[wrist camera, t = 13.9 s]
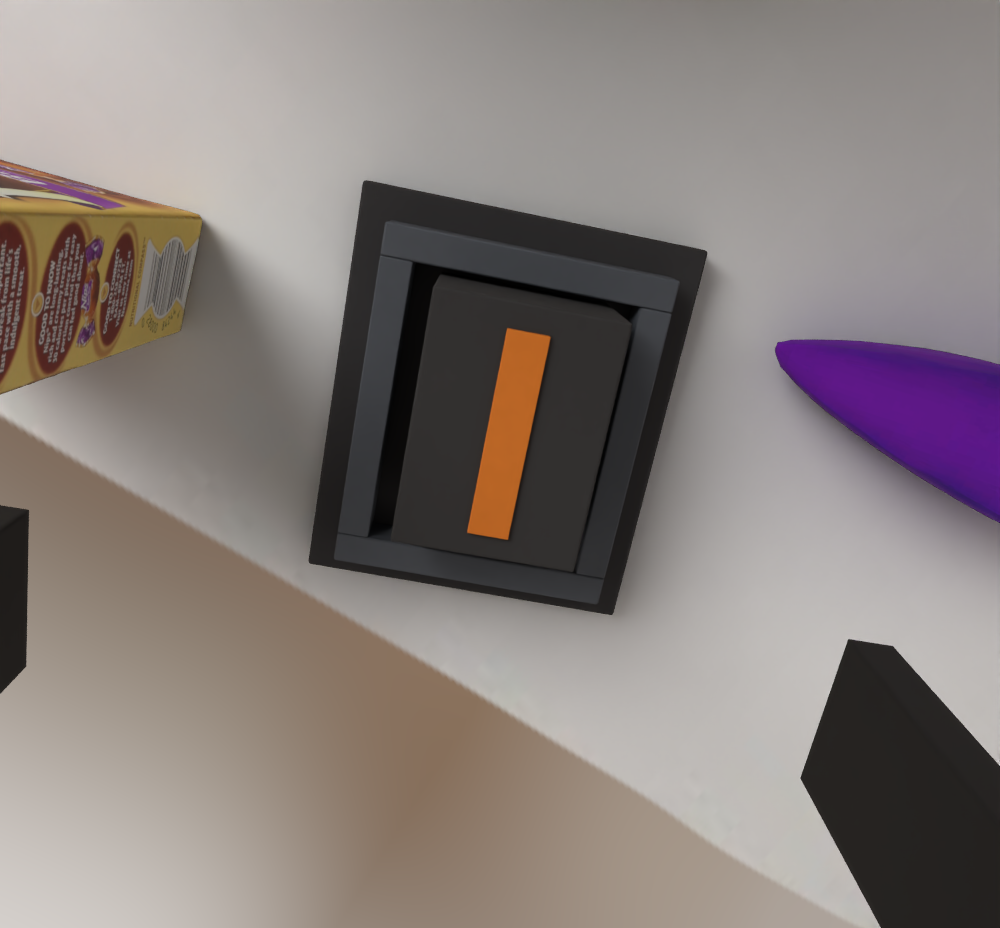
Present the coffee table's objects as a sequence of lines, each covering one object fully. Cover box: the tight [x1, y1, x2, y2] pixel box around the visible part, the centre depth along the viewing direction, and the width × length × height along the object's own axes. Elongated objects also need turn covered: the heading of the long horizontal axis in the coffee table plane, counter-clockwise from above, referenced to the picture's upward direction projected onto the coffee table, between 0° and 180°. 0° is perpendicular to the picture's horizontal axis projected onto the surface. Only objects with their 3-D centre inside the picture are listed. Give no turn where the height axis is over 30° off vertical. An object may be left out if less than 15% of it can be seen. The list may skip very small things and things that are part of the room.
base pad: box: [309, 180, 707, 615], centre depth 28 cm, size 13×11×3 cm
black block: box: [391, 272, 632, 572], centre depth 26 cm, size 8×6×5 cm
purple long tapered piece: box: [775, 340, 1000, 523], centre depth 28 cm, size 5×5×15 cm
